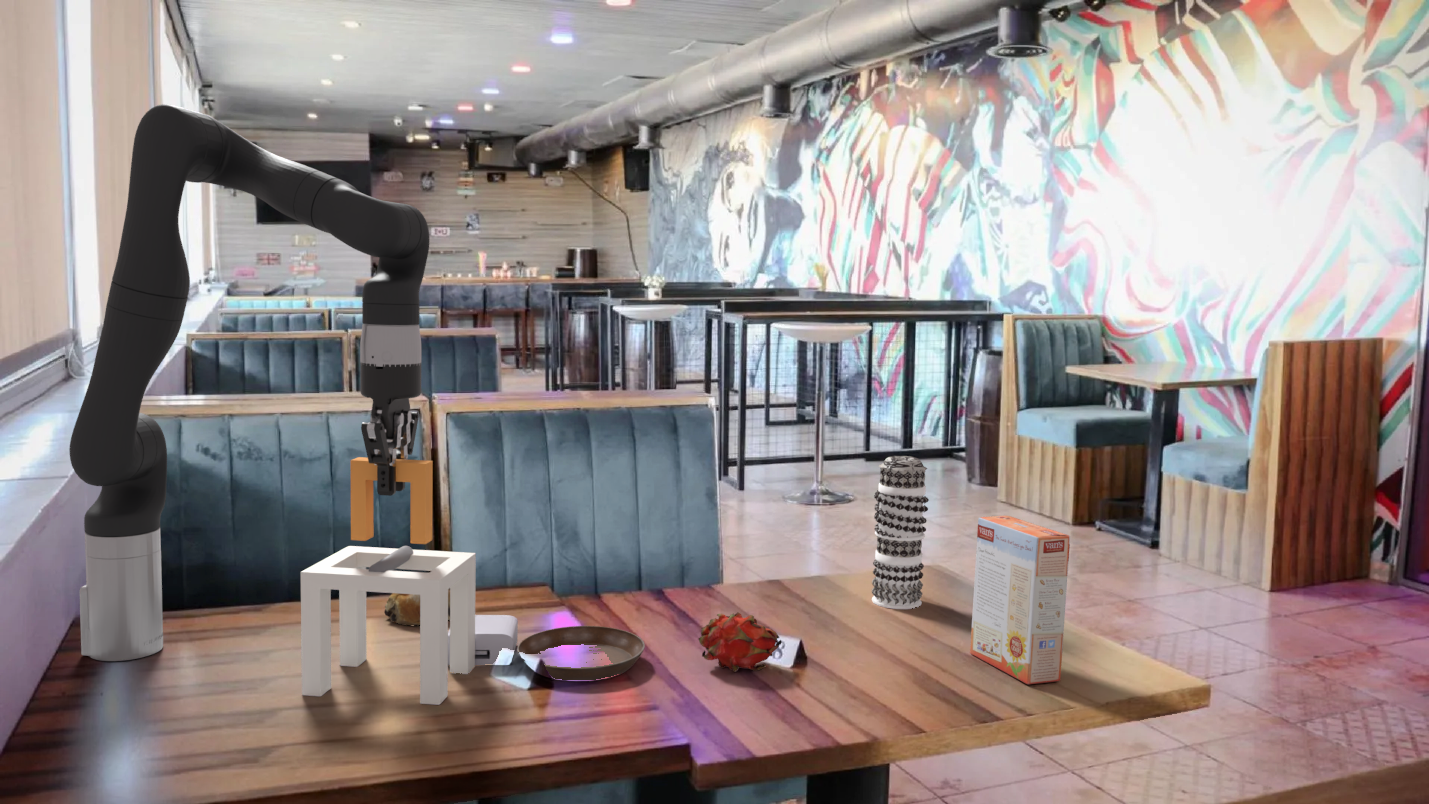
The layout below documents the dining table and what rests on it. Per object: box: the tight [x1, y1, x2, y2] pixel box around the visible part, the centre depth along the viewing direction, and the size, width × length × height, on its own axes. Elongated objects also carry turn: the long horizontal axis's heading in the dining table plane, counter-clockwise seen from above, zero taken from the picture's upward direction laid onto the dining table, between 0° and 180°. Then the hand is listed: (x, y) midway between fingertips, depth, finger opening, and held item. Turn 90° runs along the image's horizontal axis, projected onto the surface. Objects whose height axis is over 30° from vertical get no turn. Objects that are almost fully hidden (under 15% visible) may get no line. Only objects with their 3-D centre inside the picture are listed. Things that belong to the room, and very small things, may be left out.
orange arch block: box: [350, 456, 434, 545], centre depth 144 cm, size 10×2×10 cm, turn 84°
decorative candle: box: [871, 455, 930, 610], centre depth 189 cm, size 9×9×25 cm
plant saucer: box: [516, 625, 646, 680], centre depth 155 cm, size 18×18×3 cm
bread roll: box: [383, 588, 450, 626], centre depth 174 cm, size 10×10×8 cm
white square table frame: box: [300, 545, 477, 706], centre depth 146 cm, size 18×14×17 cm
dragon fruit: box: [698, 612, 782, 673], centre depth 156 cm, size 8×8×12 cm
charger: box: [448, 614, 519, 666], centre depth 161 cm, size 5×9×15 cm
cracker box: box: [969, 515, 1071, 685], centre depth 158 cm, size 14×6×21 cm, turn 21°
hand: (391, 492), depth 144 cm, fingers closed on orange arch block, 2 cm apart
